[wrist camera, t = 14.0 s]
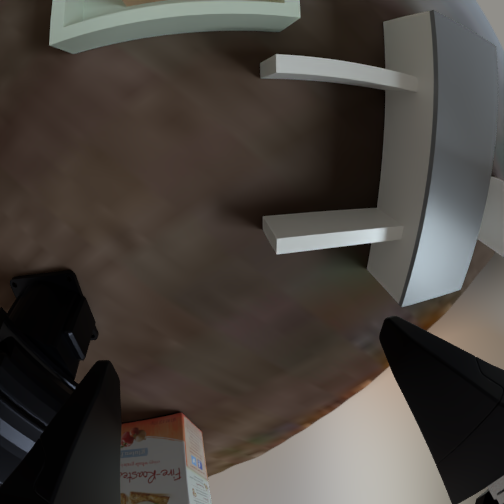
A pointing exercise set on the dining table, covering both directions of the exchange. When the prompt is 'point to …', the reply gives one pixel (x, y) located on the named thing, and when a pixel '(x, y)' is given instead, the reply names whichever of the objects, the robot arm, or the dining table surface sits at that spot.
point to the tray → (160, 19)
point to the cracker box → (163, 462)
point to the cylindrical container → (493, 217)
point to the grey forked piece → (412, 156)
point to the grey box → (138, 2)
